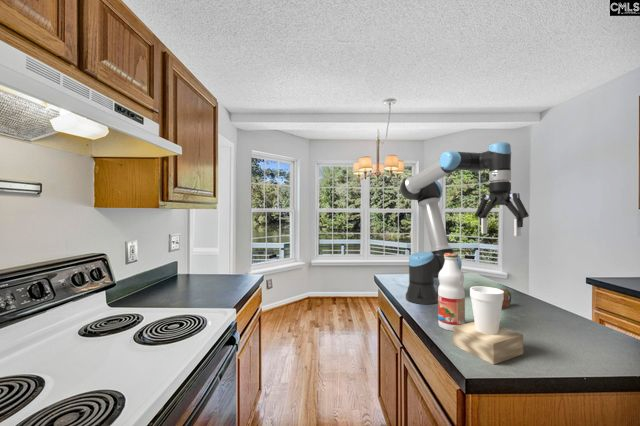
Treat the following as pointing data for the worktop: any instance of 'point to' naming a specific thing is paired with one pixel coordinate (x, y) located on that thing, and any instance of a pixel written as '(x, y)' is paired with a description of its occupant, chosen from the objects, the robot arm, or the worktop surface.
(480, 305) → the foam cup
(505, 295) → the tin
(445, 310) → the fruit juice
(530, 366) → the worktop surface
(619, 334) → the worktop surface
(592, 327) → the worktop surface
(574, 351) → the worktop surface
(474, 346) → the maple block
